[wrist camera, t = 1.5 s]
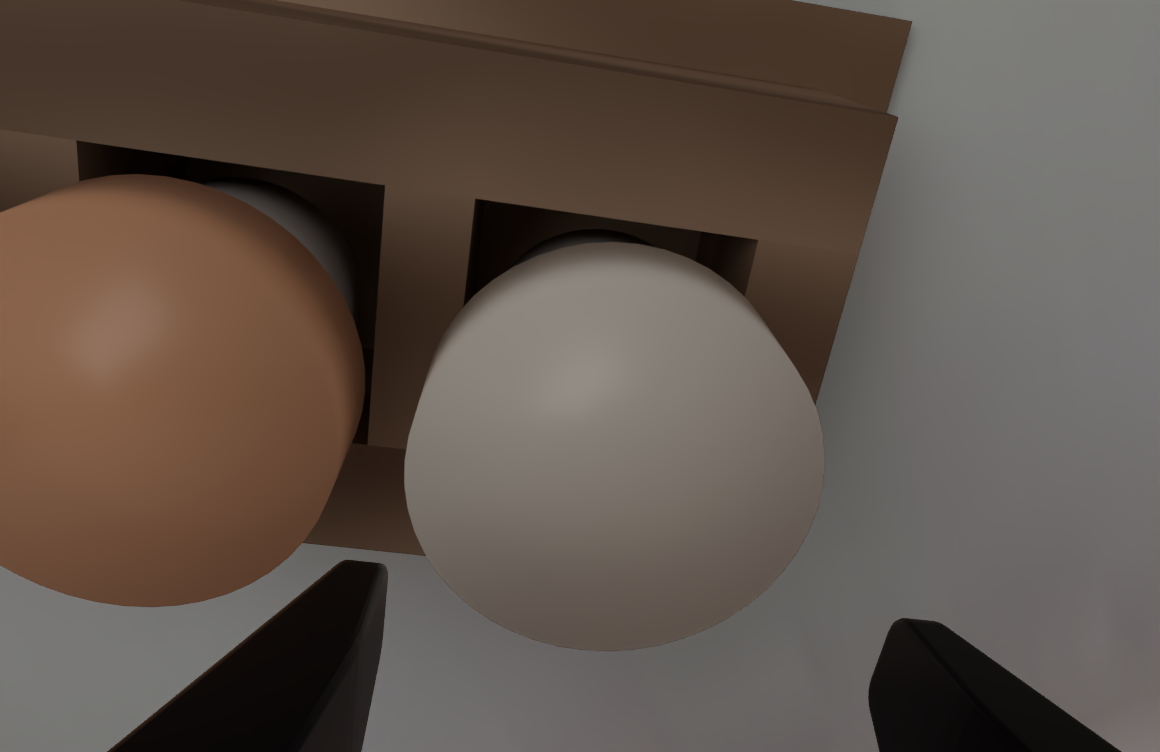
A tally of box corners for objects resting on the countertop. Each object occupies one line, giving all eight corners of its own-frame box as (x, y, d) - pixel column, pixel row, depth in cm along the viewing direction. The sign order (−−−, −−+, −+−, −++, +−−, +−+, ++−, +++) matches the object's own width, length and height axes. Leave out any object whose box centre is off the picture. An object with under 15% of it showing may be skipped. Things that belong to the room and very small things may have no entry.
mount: (760, 524, 22) (815, 658, 18) (-215, 414, 20) (-434, 536, 16) (900, 20, 18) (1023, 30, 13) (-352, -198, 15) (-722, -276, 11)
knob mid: (391, 438, 16) (327, 625, 12) (102, 404, 16) (-93, 585, 11) (413, 159, 14) (348, 243, 10) (82, 109, 14) (-165, 172, 9)
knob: (703, 475, 17) (768, 668, 12) (434, 443, 16) (389, 630, 12) (767, 211, 15) (876, 316, 10) (462, 166, 14) (422, 254, 10)
